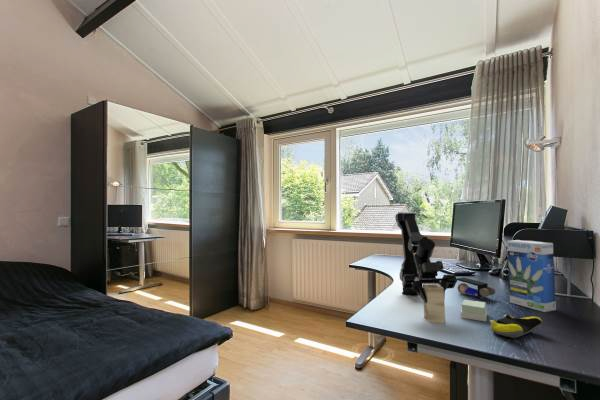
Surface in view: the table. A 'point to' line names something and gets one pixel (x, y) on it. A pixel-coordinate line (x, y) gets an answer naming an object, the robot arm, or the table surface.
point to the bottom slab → (473, 315)
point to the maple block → (434, 303)
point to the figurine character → (481, 292)
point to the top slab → (474, 307)
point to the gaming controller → (515, 326)
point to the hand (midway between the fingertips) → (434, 302)
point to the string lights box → (531, 274)
